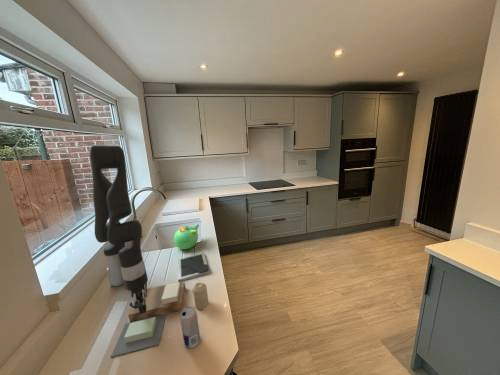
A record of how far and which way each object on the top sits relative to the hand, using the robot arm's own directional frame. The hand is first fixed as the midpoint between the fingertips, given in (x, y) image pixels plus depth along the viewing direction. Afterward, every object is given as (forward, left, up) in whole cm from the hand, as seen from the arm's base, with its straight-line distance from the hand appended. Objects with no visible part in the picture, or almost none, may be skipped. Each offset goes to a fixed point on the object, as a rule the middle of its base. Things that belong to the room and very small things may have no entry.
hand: (143, 311), depth 78 cm
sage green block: (0, -5, -2) cm, 5 cm away
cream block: (+10, +7, -1) cm, 12 cm away
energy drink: (+19, -14, -5) cm, 24 cm away
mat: (0, -6, -5) cm, 7 cm away
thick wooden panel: (+4, +8, -5) cm, 10 cm away
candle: (+22, +2, -5) cm, 23 cm away
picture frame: (+16, +32, -6) cm, 37 cm away
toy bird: (+12, +58, -5) cm, 59 cm away
